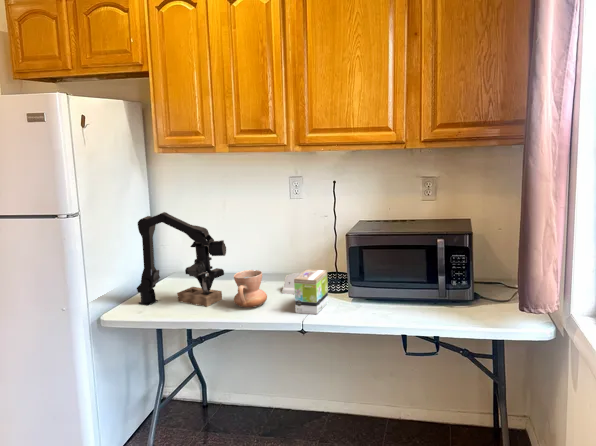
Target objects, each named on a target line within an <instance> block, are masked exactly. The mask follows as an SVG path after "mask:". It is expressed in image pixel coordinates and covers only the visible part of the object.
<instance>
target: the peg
mask: <svg viewBox="0 0 596 446" xmlns="http://www.w3.org/2000/svg"><path fill="white" fill-rule="evenodd" d="M206 276H207V275H206ZM206 276H204V277H206ZM204 277H202V287H203V295H209V294H210V290H209V291H208V289H207V283H206V279H205V278H204Z"/></svg>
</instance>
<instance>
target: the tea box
mask: <svg viewBox="0 0 596 446" xmlns="http://www.w3.org/2000/svg"><path fill="white" fill-rule="evenodd" d="M300 273H301V274H300V275H298V276H297V277H296V278H295V279H294V288H295V294H294V304H295V305H294V307H295V308H294V309H295V314H305V315H307V314H309V315H310V314H311V315H318V313H319V312H321V310H323V308H325V307H326V306H327V304H328V303H329V289H328V287H329V284H328V270H327V269H326V270H325V269H324V270H323V269H322V270H321V269H305V270H304V271H302V272H300Z"/></svg>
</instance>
